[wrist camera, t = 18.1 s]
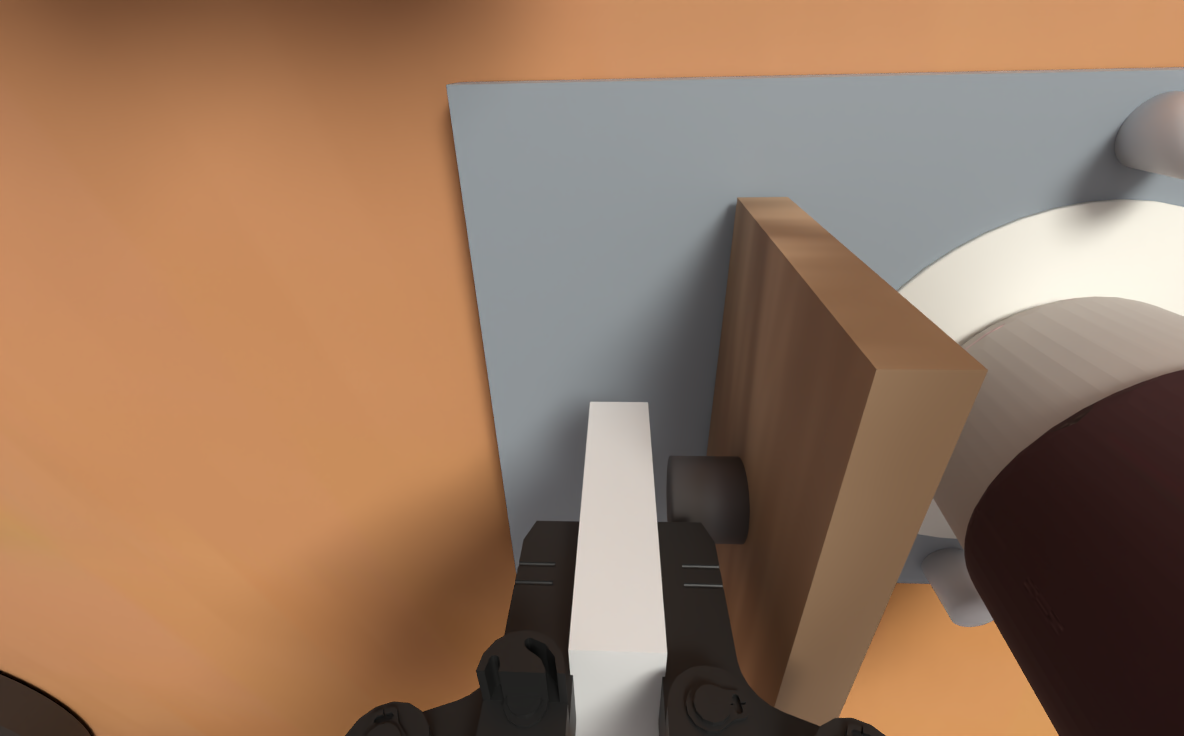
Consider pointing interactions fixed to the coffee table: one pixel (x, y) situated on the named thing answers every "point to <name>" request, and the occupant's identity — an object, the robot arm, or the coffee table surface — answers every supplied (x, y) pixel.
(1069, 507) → the coffee cup
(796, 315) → the panel
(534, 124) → the grey flat slab
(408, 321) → the coffee table surface
